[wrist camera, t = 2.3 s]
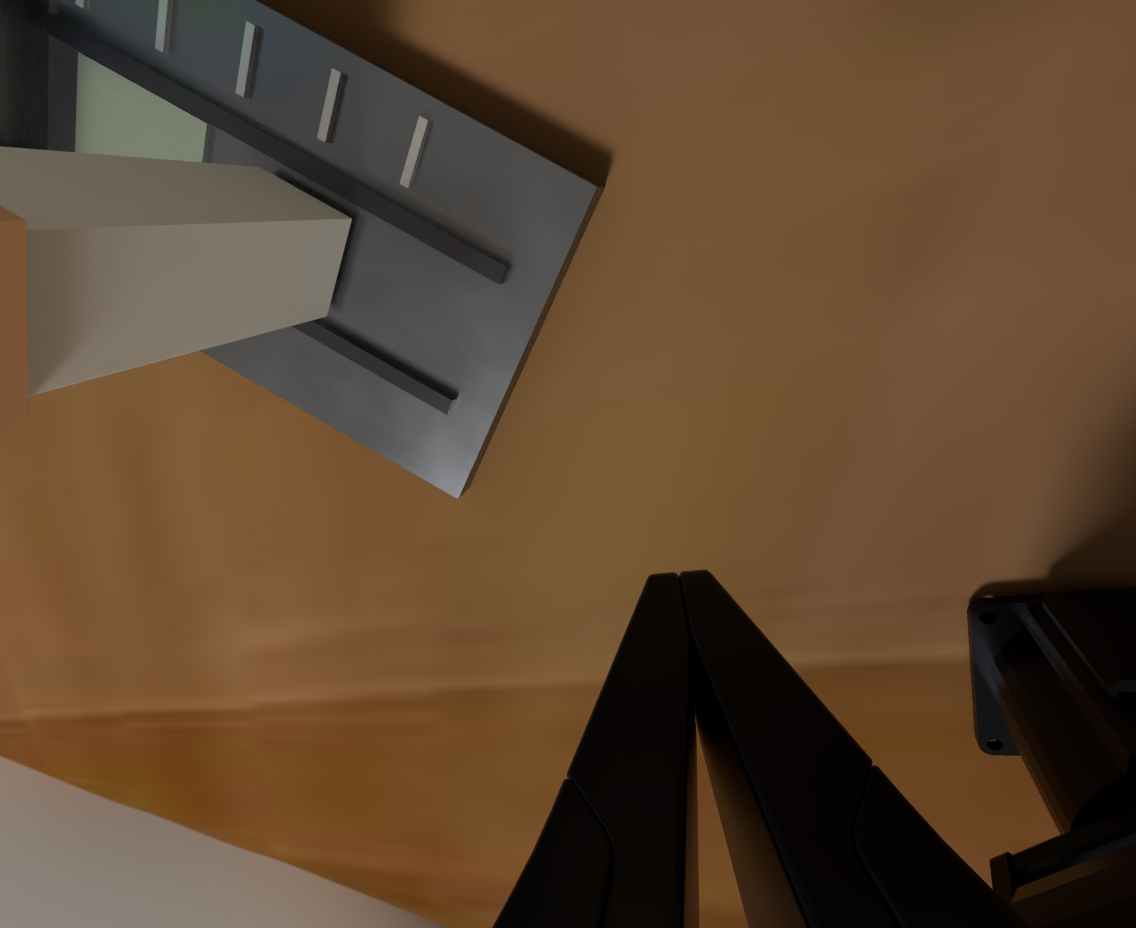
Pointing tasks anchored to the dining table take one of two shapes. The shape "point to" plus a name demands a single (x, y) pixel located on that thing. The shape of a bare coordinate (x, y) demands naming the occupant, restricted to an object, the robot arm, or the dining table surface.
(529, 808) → the dining table surface
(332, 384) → the plate
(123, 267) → the fader knob
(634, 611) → the robot arm
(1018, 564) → the dining table surface
